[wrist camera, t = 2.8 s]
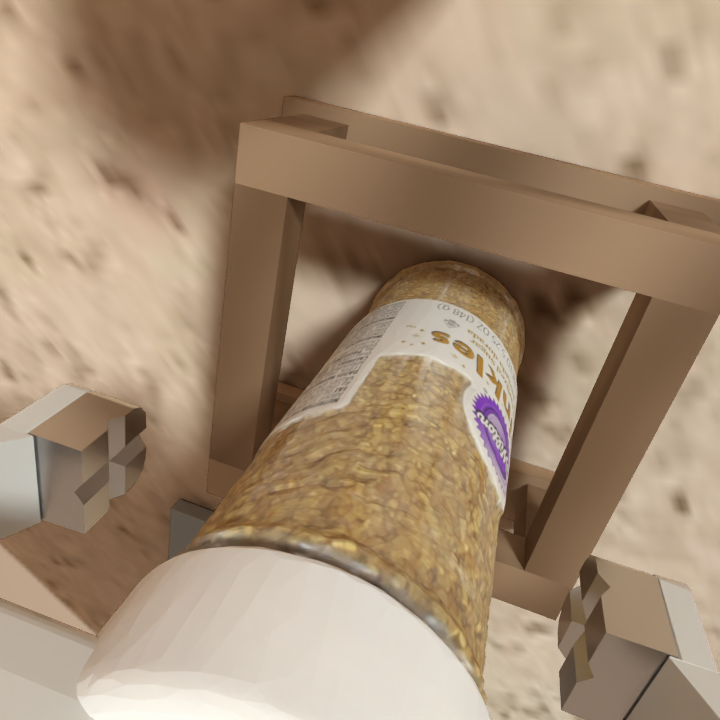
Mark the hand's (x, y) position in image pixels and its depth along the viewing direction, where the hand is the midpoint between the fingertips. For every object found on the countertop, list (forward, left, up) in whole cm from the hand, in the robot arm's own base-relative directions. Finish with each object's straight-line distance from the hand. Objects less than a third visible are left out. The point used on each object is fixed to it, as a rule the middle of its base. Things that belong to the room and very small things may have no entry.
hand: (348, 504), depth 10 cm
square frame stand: (0, 0, -8) cm, 8 cm away
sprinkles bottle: (0, 0, -8) cm, 8 cm away
